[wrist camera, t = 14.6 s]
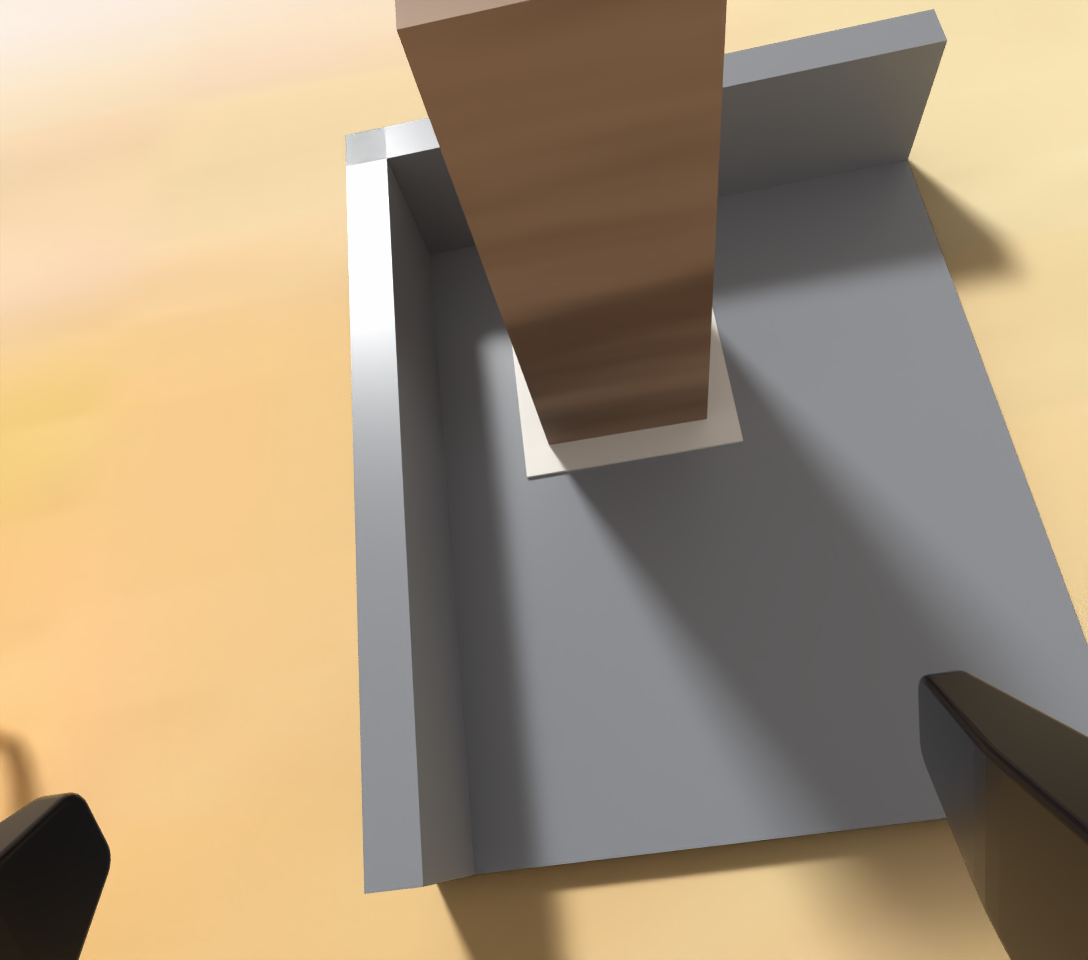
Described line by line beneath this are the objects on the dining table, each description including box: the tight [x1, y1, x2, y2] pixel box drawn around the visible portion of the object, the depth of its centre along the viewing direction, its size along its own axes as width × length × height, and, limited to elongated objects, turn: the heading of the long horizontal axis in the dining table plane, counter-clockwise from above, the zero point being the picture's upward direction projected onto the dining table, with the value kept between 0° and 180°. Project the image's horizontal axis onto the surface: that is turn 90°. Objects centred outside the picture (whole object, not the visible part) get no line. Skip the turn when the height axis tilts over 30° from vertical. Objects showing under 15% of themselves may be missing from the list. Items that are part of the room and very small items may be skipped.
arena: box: [345, 9, 1088, 894], centre depth 22 cm, size 20×17×5 cm
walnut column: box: [395, 0, 727, 445], centre depth 19 cm, size 5×5×14 cm
